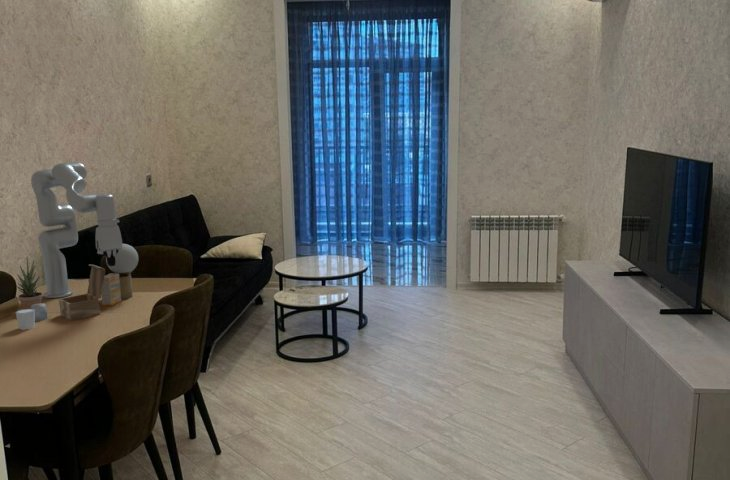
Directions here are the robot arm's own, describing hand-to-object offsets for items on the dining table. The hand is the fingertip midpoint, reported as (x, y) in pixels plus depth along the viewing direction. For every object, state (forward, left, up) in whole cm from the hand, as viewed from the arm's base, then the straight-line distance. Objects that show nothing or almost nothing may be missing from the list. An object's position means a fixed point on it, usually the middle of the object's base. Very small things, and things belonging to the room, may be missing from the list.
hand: (111, 265), depth 290 cm
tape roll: (-10, -28, -20) cm, 36 cm away
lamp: (-17, +12, -20) cm, 29 cm away
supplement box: (-10, +3, -20) cm, 22 cm away
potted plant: (-26, -26, -20) cm, 42 cm away
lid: (-3, -8, -6) cm, 10 cm away
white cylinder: (-1, -36, -20) cm, 41 cm away
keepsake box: (-3, -14, -19) cm, 24 cm away
